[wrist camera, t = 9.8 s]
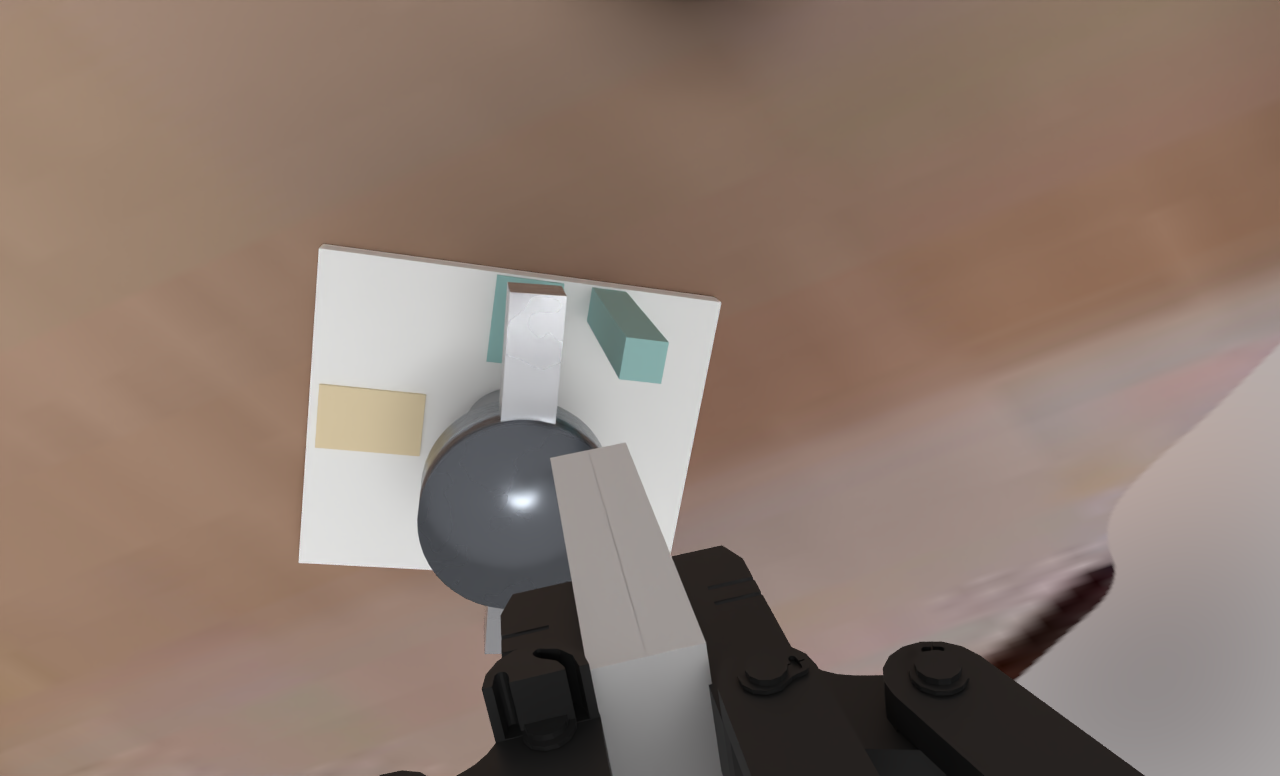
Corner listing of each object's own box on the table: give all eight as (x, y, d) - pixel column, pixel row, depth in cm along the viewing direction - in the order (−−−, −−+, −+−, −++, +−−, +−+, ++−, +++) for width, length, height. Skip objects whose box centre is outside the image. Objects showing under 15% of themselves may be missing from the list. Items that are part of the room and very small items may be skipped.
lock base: (714, 296, 42) (786, 353, 32) (659, 570, 46) (709, 690, 37) (323, 243, 37) (277, 291, 28) (303, 550, 42) (256, 680, 32)
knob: (595, 618, 38) (605, 660, 35) (415, 620, 36) (411, 664, 33) (631, 288, 33) (647, 305, 30) (429, 272, 32) (426, 289, 29)
